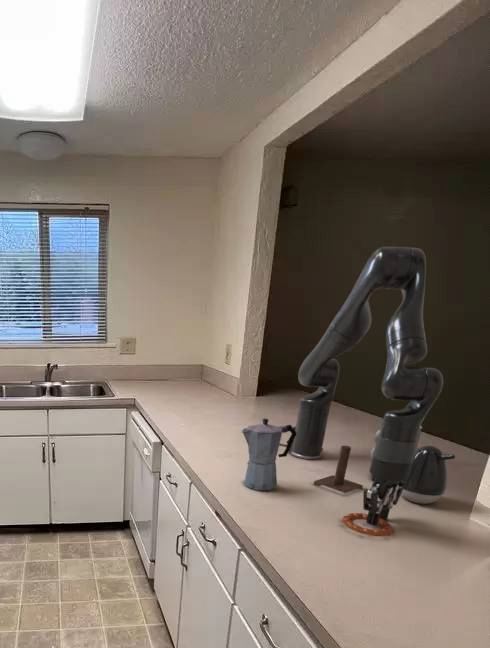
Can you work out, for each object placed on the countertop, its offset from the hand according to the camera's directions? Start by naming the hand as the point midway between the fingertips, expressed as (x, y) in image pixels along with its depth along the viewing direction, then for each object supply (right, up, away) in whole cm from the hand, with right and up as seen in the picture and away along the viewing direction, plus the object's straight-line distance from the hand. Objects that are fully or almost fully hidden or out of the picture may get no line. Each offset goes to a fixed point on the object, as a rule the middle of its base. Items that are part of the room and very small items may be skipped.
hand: (375, 523), depth 104 cm
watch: (+19, +9, +27) cm, 34 cm away
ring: (-4, 0, -2) cm, 4 cm away
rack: (+3, +8, +21) cm, 23 cm away
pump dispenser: (+20, +4, +13) cm, 24 cm away
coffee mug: (+40, +18, +50) cm, 67 cm away
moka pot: (-18, +8, +23) cm, 30 cm away
